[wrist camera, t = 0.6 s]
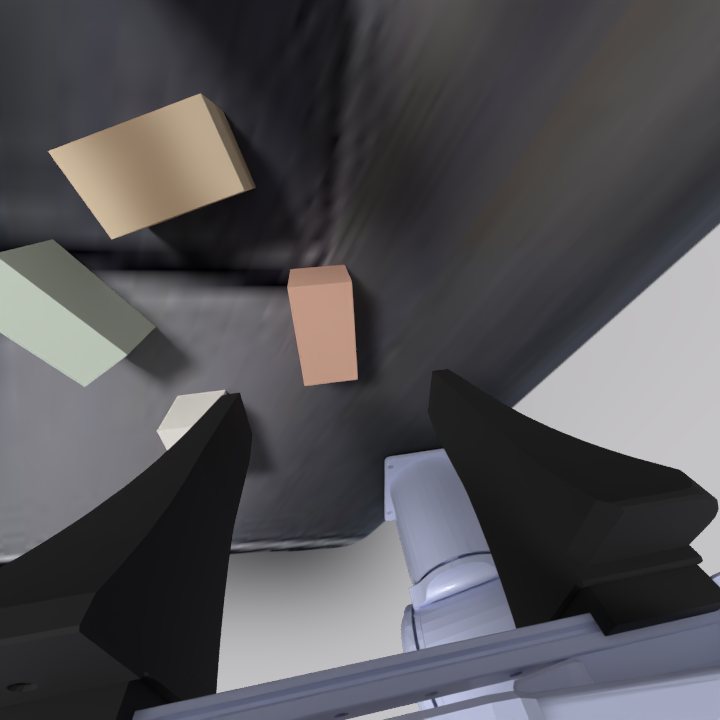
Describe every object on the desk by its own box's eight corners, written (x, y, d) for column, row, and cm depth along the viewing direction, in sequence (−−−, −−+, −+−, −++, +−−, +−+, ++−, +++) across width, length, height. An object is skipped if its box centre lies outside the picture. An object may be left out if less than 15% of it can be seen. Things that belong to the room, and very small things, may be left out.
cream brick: (246, 448, 25) (237, 486, 22) (205, 453, 24) (190, 493, 21) (225, 388, 22) (212, 423, 19) (178, 394, 21) (156, 431, 18)
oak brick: (223, 111, 14) (200, 93, 11) (256, 187, 16) (244, 190, 13) (103, 156, 14) (48, 151, 11) (149, 226, 16) (111, 239, 13)
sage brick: (156, 325, 19) (127, 355, 16) (120, 353, 19) (84, 387, 16) (54, 238, 16) (-7, 254, 12) (14, 274, 16) (-54, 297, 13)
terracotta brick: (350, 350, 21) (357, 379, 18) (304, 355, 21) (304, 386, 18) (344, 264, 18) (352, 281, 15) (290, 268, 18) (287, 287, 15)
